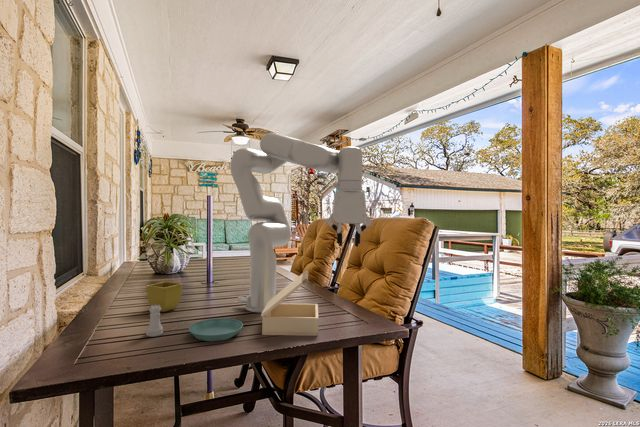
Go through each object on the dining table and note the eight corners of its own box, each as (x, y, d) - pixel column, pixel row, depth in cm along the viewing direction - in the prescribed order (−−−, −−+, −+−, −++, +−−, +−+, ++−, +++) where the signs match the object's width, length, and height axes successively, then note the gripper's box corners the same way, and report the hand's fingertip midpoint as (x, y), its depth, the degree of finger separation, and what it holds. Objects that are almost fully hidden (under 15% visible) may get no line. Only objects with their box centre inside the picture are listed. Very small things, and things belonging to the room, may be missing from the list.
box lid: (262, 317, 98) (260, 314, 98) (269, 302, 115) (267, 300, 115) (307, 280, 99) (305, 278, 99) (308, 271, 115) (306, 269, 115)
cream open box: (262, 334, 98) (262, 317, 98) (269, 318, 114) (269, 303, 114) (318, 335, 99) (318, 318, 99) (317, 318, 115) (317, 303, 115)
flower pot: (144, 311, 119) (145, 285, 119) (164, 305, 127) (165, 281, 127) (163, 314, 116) (164, 287, 116) (183, 308, 124) (183, 283, 124)
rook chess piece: (151, 338, 94) (152, 308, 94) (142, 335, 96) (143, 306, 96) (166, 333, 97) (167, 305, 98) (157, 330, 100) (157, 303, 100)
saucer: (200, 326, 106) (200, 317, 106) (248, 327, 105) (248, 318, 105) (179, 343, 91) (179, 333, 91) (234, 345, 91) (234, 335, 91)
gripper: (323, 185, 103) (321, 246, 103) (378, 187, 104) (377, 247, 104) (322, 187, 111) (321, 244, 111) (374, 189, 111) (373, 245, 111)
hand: (348, 245), depth 107 cm, fingers open, 4 cm apart
